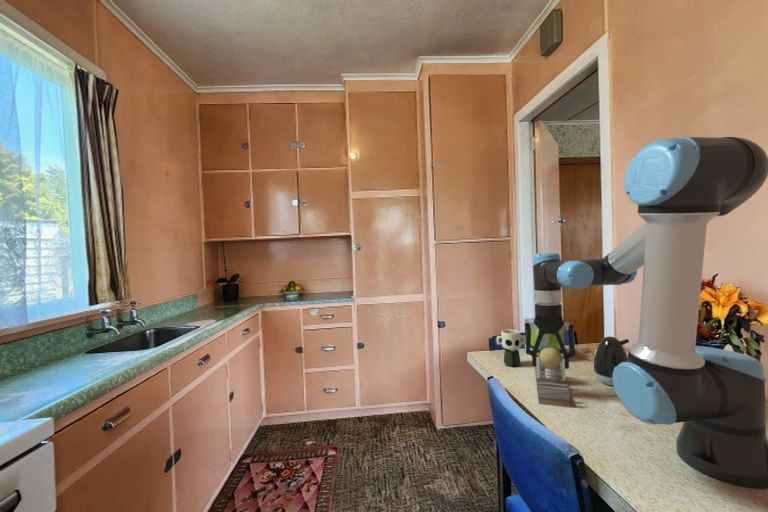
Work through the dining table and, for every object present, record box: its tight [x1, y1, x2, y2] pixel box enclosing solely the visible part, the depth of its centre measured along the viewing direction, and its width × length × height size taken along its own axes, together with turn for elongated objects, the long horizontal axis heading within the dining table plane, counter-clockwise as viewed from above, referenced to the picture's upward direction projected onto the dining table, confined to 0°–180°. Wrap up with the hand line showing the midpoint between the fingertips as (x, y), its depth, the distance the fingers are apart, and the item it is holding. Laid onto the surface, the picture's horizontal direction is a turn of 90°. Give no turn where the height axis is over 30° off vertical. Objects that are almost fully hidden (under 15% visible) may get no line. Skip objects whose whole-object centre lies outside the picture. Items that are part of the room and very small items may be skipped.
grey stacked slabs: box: [534, 361, 571, 408], centre depth 111 cm, size 24×8×10 cm, turn 158°
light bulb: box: [539, 346, 562, 380], centre depth 107 cm, size 6×6×10 cm
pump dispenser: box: [593, 336, 630, 387], centre depth 113 cm, size 10×10×15 cm
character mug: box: [496, 329, 526, 367], centre depth 135 cm, size 11×7×13 cm, turn 83°
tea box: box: [523, 317, 565, 362], centre depth 142 cm, size 15×10×15 cm, turn 179°
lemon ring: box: [576, 345, 598, 362], centre depth 140 cm, size 14×14×2 cm
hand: (550, 377), depth 107 cm, fingers closed on light bulb, 6 cm apart
